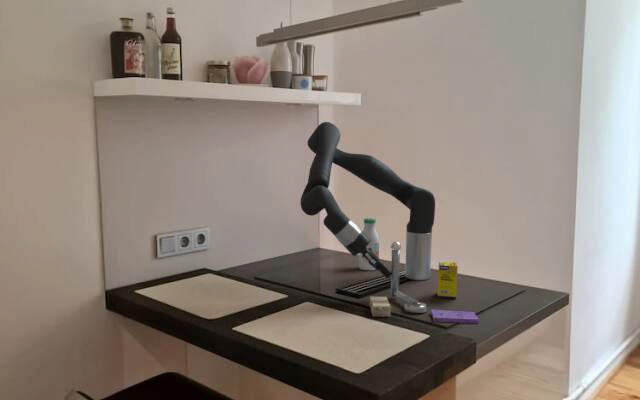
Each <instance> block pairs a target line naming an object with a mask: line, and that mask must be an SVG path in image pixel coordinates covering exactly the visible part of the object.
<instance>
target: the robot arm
mask: <svg viewBox="0 0 640 400" xmlns="http://www.w3.org/2000/svg"><path fill="white" fill-rule="evenodd" d="M340 139H341V132H340V129H339V128H338V127H337V126H336V125H335V124H333V123H332V122H329V121H323V122H321V123H320V124H318V126H317V127H316V128H315V129H314V131H313V133H312V134H311V135H310V136H309V138H308V140H307V146H308V149H310V151H312V152H313V153H314V155H315V156H314V157H313V160H312V162H311V165H310V168H309V174H308V179H307V183H306V185H305V186H304V190H303V191H302V194H301V198H300V207H301V210H302V211H303V213H304V214H305V215H307V216H316V215H319V213H320V212H321V211H322V210H325V213H326V216H325V217H324V219H323V225H324V227H326V228H327V229H328V230H329V231H330V232H331V234H333V236H334V237H336V238H335V239H337V241H338V242H339V243H340V244H341V245H342V246H343V247H344V248H345V249H346V250H347V251H348V252H349V253H350V254H351V255H352V256H353V257H354V256H359V253H362V258H363V259H364V260H365V261H367V262H368V263H369V264H370V265H371V266H372V267H374V268H375V269H376V270H375V271H378V272H380V273H381V275H383V277H384V278H386V279H389V277H390V278H391V270H389V269H388V268H387V266H385V265H384V263H383V262H382V260H381V258H380V256H379V257H378V256H377V255H376V254H375V252H374V251H373V249H372V248H371V247H370V248H368V247H367V245H368V244H369V242H370V239H369V238H368V237H367V236H366V235H365V233H364V232H363V230H362V229H361V228H360V227H359V226H358V225H357V224H356V223H354V222H353V221H352V220H351V219H350V218H349V217H348V216H347V215H346V214H345V213H344V212H343V211H342V210H341V208H340V205H339V204H338V202H337V201H336V199H335V197H334V195H333V194H332V192H331V190H330V189H329V186H330V182H331V181H330V180H331V172H332V166H333V164H334V165H336V166H339V167H341V168H342V169H344V170H345V171H347V172H349V173H351V174H352V175H353V176H355V177H357V178H359V179H360V180H361V181H363V182H365V183H366V184H368V185H370V186H371V187H373V188H375V189H377V190H379V191H381V192H383V193H386V194H387V195H390V196H391V197H393V198H395V199H396V200H397V201H399V202H400V203H401V204H403V205H404V206H405V207H406V208H408V210H409V213H410V214H409V220H408V222H407V223H406V233H405V234H406V236H405V237H406V238H405V239H406V240H405V241H406V242H405V263H404V264H405V269H404V277H405V278H407V279H409V280H414V281H423V280H424V281H425V280H429V279H430V278H431V267H432V265H431V263H432V241H433V239H432V234H433V226H434V224H435V217H436V216H435V214H436V213H435V212H436V198H435V196H434V193H433V192H431V191H430V190H428V189H426V188H422V187H418V186H416V185H414V184H412V183H410V182H408V181H406V179H405V180H404V179H403V178H402V177H400V176H399V175H398V174H397V173H396V172H395V171H394V170H392V169H391V168H390V166H388V165H387V164H385V163H383V162H382V161H381V160H380V159H378V158H376V157H374V156H372V155H369V154H364V153H362V154H361V153H351V152H345V151H343V150H341V149H339V148H338V145H339V142H340Z"/></svg>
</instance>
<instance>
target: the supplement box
mask: <svg viewBox="0 0 640 400" xmlns="http://www.w3.org/2000/svg"><path fill="white" fill-rule="evenodd" d="M437 273H438V274H437V275H438V276H437V277H438V278H437V294H436V295H437V298H438V299H446V300H447V299H448V300H449V299H450V300H456V299H457V286H458V285H457V284H458V283H457V282H458V281H457V280H458V262H451V261H438V272H437Z"/></svg>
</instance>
